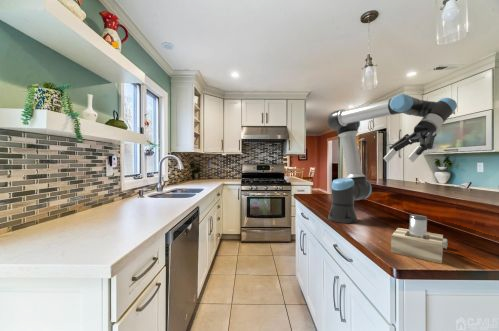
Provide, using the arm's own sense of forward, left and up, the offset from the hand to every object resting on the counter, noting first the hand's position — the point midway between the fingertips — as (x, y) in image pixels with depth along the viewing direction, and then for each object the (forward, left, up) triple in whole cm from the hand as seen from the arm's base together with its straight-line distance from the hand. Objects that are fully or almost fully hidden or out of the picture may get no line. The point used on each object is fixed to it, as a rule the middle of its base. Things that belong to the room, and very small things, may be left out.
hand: (397, 160), depth 99 cm
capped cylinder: (+14, +9, -33) cm, 37 cm away
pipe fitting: (+1, +13, -34) cm, 36 cm away
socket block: (+14, +8, -34) cm, 37 cm away
